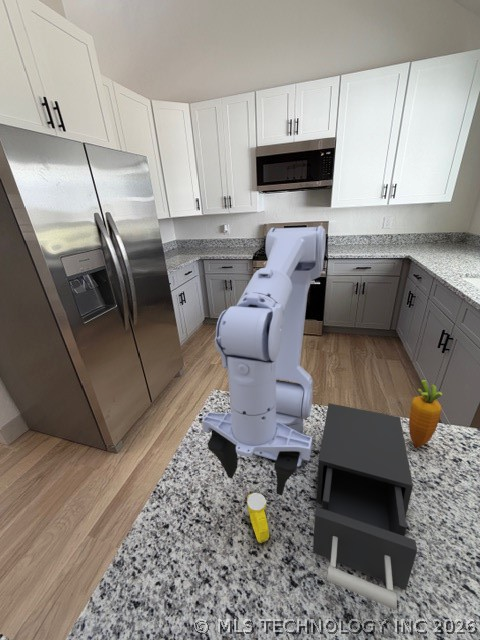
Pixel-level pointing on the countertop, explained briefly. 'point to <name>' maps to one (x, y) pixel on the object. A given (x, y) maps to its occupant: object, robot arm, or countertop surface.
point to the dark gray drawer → (364, 534)
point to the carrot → (424, 415)
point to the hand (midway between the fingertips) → (256, 480)
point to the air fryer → (364, 448)
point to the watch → (258, 516)
